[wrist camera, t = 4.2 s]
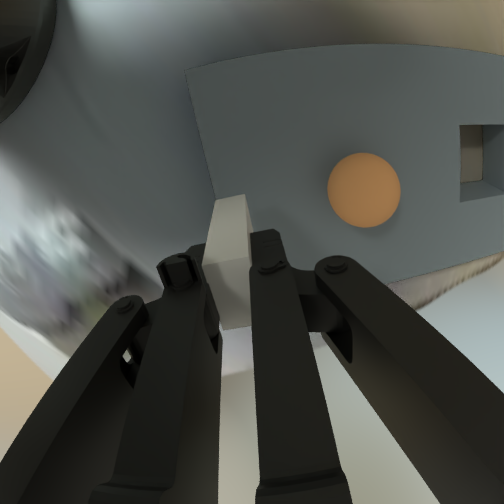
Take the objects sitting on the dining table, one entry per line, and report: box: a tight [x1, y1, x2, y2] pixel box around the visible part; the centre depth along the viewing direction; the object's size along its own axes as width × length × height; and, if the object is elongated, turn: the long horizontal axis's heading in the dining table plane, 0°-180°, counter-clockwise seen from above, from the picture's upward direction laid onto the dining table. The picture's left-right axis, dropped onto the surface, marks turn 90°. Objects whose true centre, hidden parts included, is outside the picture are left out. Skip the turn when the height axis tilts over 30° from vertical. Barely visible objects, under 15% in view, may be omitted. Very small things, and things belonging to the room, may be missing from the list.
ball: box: [327, 153, 401, 228], centre depth 16 cm, size 4×4×4 cm
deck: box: [184, 44, 504, 284], centre depth 19 cm, size 26×16×4 cm, turn 102°
